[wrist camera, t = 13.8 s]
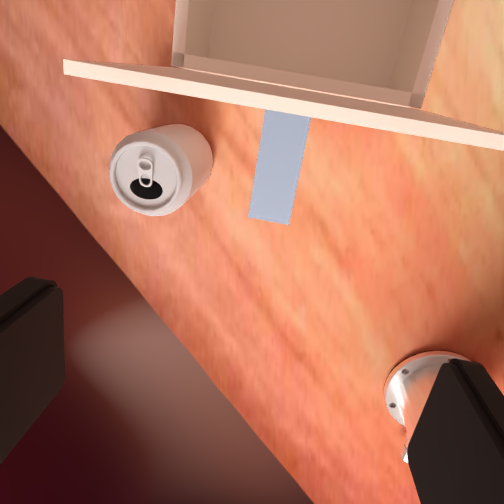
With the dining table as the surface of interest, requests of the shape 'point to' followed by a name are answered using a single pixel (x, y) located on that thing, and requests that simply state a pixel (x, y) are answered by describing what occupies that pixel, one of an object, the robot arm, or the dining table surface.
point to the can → (160, 168)
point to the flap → (285, 121)
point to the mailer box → (316, 44)
